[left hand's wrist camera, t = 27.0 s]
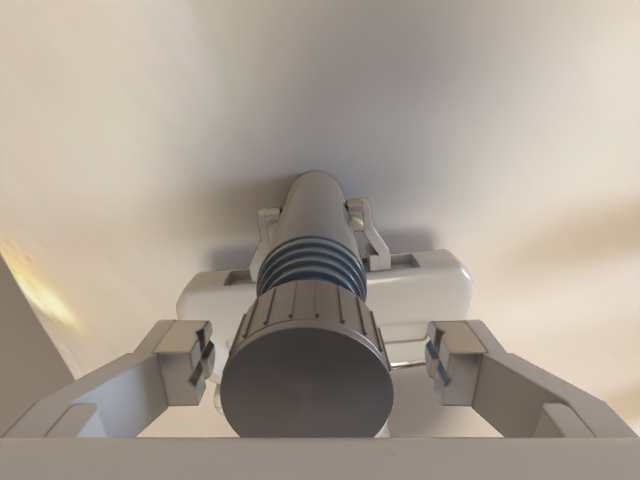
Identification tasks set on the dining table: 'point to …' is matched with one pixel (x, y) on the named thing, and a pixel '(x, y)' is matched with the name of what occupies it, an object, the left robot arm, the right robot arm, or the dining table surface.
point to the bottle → (313, 239)
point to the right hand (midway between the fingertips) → (312, 205)
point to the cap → (307, 366)
